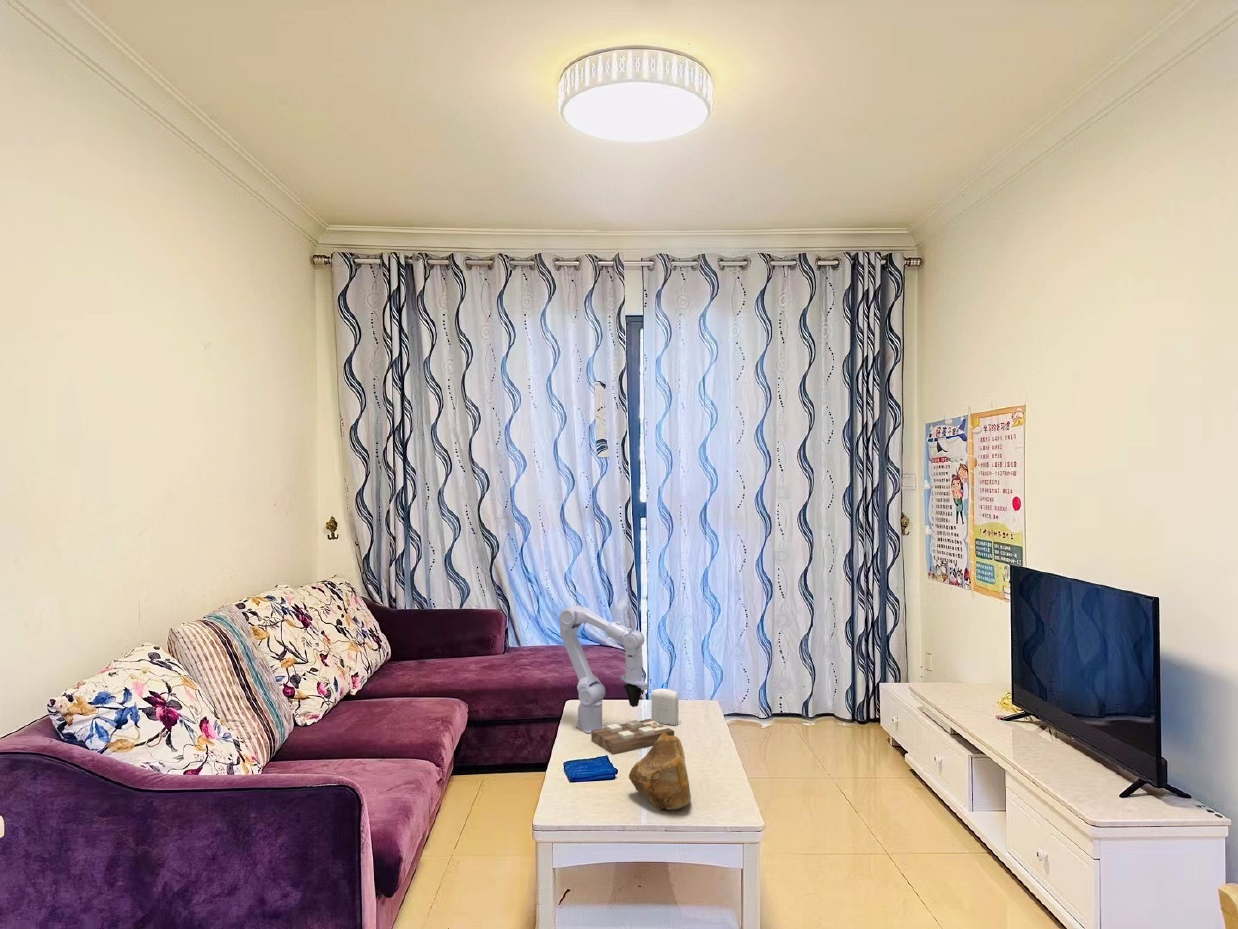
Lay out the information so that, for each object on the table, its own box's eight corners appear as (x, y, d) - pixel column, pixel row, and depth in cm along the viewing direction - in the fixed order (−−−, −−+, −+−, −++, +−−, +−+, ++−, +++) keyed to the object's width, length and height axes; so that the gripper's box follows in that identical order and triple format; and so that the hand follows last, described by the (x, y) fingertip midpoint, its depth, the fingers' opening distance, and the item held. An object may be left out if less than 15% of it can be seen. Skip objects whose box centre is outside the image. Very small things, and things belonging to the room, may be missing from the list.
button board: (591, 740, 255) (591, 729, 255) (650, 728, 267) (650, 718, 267) (613, 754, 242) (613, 742, 242) (674, 741, 254) (674, 730, 255)
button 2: (618, 736, 250) (617, 732, 250) (628, 734, 252) (628, 730, 252) (624, 740, 246) (624, 736, 246) (634, 738, 248) (634, 733, 248)
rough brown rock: (630, 782, 222) (625, 733, 222) (685, 777, 222) (681, 727, 222) (631, 821, 199) (626, 765, 198) (693, 815, 199) (688, 759, 198)
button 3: (626, 725, 261) (626, 721, 261) (635, 724, 263) (635, 720, 263) (632, 729, 257) (632, 725, 257) (641, 727, 259) (641, 723, 259)
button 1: (606, 729, 257) (606, 725, 257) (616, 727, 259) (616, 723, 259) (612, 733, 253) (612, 729, 253) (622, 731, 255) (622, 727, 255)
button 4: (638, 732, 254) (638, 728, 254) (648, 730, 256) (648, 726, 256) (644, 736, 250) (644, 731, 250) (654, 733, 252) (654, 729, 252)
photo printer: (680, 723, 274) (680, 689, 274) (676, 726, 270) (676, 692, 270) (653, 719, 278) (653, 686, 278) (649, 723, 274) (649, 689, 274)
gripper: (654, 669, 256) (654, 709, 256) (632, 661, 269) (632, 699, 268) (637, 672, 253) (637, 713, 252) (615, 663, 265) (615, 702, 265)
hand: (633, 706), depth 260 cm, fingers closed
